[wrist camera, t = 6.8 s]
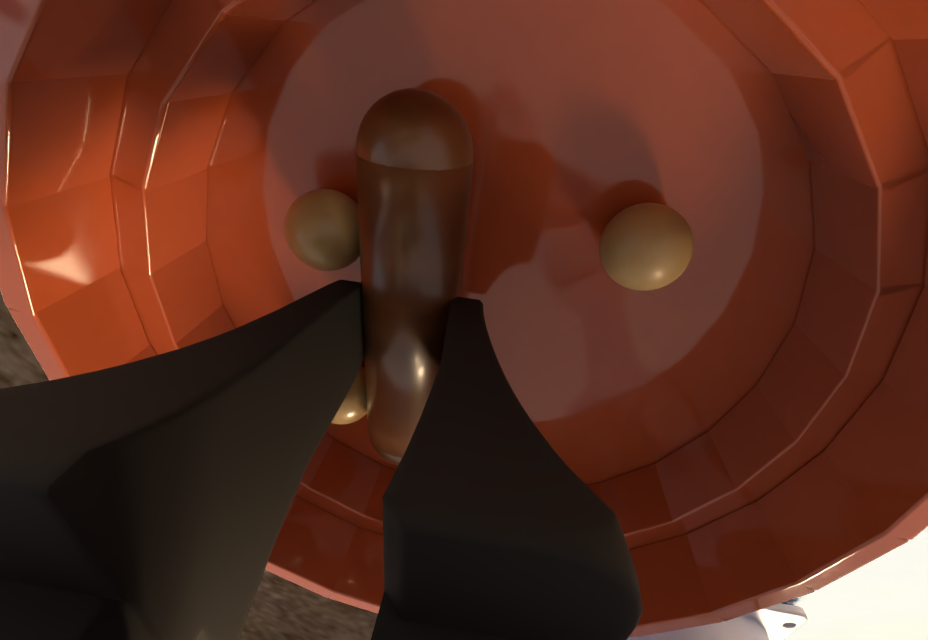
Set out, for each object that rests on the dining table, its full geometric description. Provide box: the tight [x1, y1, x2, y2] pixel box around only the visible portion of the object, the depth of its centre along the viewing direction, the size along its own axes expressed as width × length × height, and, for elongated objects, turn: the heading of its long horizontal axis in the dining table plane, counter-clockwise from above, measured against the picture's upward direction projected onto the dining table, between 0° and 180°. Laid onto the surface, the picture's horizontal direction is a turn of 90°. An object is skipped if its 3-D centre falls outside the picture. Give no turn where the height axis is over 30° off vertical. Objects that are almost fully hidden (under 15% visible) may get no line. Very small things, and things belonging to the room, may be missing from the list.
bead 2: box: [331, 366, 367, 424], centre depth 14 cm, size 2×2×2 cm
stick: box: [355, 88, 474, 466], centre depth 11 cm, size 10×2×2 cm, turn 175°
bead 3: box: [599, 203, 694, 291], centre depth 10 cm, size 2×2×2 cm
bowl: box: [0, 0, 928, 638], centre depth 11 cm, size 19×19×5 cm
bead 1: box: [284, 189, 360, 271], centre depth 11 cm, size 2×2×2 cm
